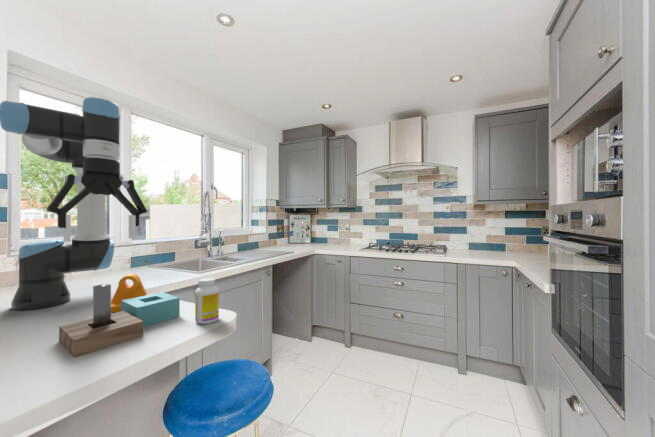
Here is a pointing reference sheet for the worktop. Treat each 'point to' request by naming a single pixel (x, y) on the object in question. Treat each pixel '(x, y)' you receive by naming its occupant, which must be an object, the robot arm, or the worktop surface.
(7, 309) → the worktop surface
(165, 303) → the block with rectangular slot
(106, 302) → the steel rod
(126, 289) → the bracket
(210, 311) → the supplement bottle
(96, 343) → the socket block
